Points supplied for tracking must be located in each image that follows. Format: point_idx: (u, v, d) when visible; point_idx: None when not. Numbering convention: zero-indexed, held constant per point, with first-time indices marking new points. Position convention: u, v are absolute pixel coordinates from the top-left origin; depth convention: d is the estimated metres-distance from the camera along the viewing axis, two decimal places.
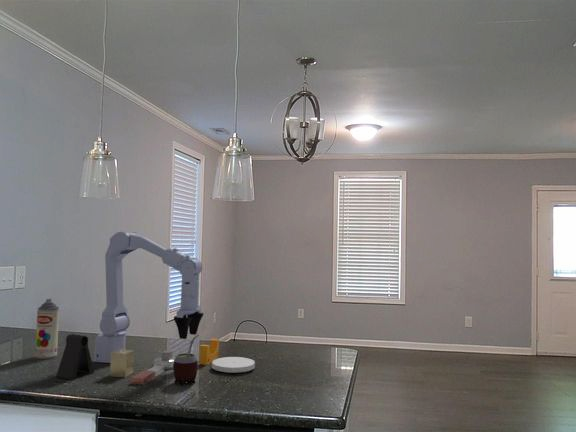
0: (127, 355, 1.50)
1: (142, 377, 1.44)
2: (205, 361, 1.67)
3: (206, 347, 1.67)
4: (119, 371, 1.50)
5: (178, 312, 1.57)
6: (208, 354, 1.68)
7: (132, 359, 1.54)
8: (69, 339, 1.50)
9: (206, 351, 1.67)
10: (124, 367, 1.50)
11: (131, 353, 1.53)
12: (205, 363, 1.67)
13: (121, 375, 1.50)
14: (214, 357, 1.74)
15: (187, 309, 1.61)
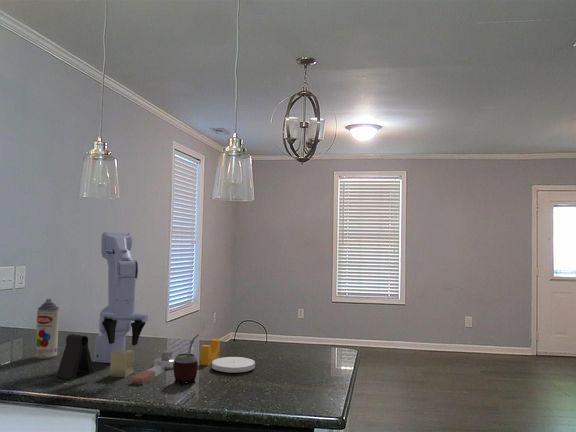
0: (127, 355, 1.50)
1: (142, 377, 1.44)
2: (206, 361, 1.66)
3: (207, 347, 1.67)
4: (119, 371, 1.50)
5: None
6: (209, 354, 1.68)
7: (132, 359, 1.54)
8: (69, 339, 1.50)
9: (207, 351, 1.67)
10: (124, 367, 1.50)
11: (131, 353, 1.53)
12: (206, 363, 1.66)
13: (121, 375, 1.50)
14: (215, 357, 1.74)
15: None
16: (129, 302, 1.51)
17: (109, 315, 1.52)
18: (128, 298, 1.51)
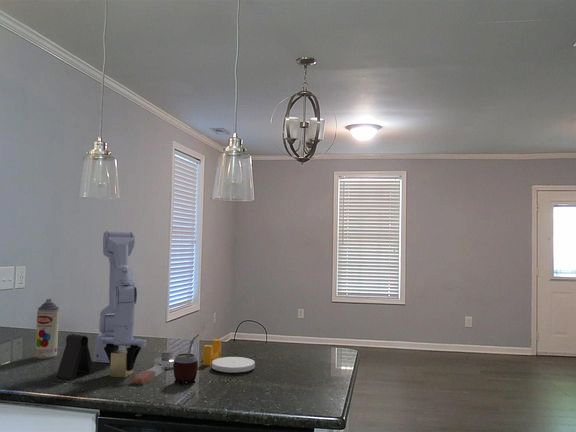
0: (127, 355, 1.50)
1: (142, 377, 1.44)
2: (209, 361, 1.66)
3: (210, 347, 1.66)
4: (119, 371, 1.50)
5: None
6: (211, 354, 1.68)
7: None
8: (69, 339, 1.50)
9: (209, 351, 1.66)
10: (124, 367, 1.50)
11: None
12: (209, 363, 1.66)
13: (121, 375, 1.50)
14: (217, 357, 1.74)
15: None
16: (128, 327, 1.51)
17: (108, 340, 1.52)
18: (127, 323, 1.51)
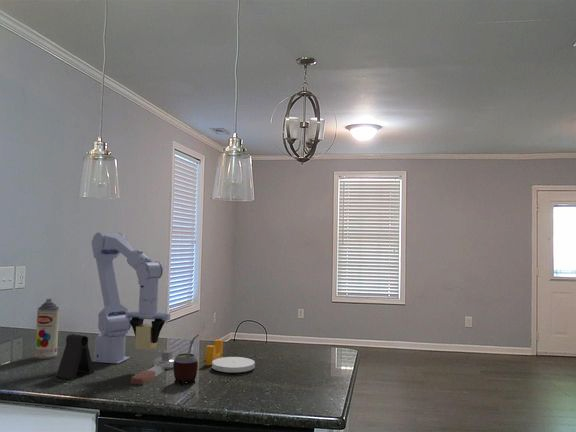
0: (151, 329, 1.56)
1: (142, 377, 1.44)
2: (211, 362, 1.66)
3: (212, 348, 1.66)
4: (144, 344, 1.56)
5: None
6: (214, 355, 1.67)
7: None
8: (69, 339, 1.50)
9: (212, 351, 1.66)
10: (149, 339, 1.55)
11: None
12: (211, 364, 1.66)
13: (146, 347, 1.56)
14: (219, 357, 1.74)
15: None
16: (152, 301, 1.57)
17: (133, 314, 1.58)
18: (155, 297, 1.58)
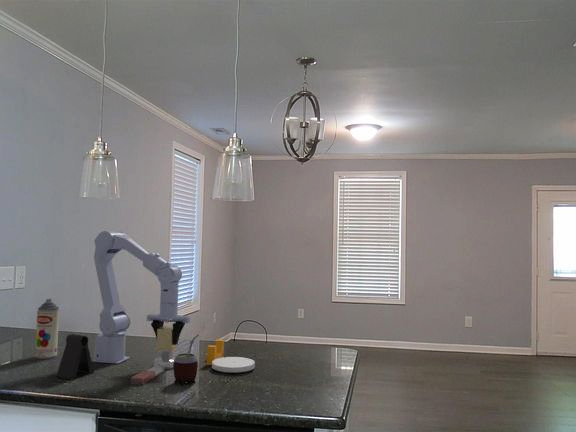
0: (172, 331, 1.62)
1: (142, 377, 1.44)
2: None
3: (213, 348, 1.66)
4: (165, 346, 1.61)
5: None
6: (215, 355, 1.67)
7: None
8: (69, 339, 1.50)
9: (213, 351, 1.66)
10: (170, 341, 1.61)
11: None
12: None
13: (167, 349, 1.61)
14: None
15: (159, 315, 1.64)
16: (173, 305, 1.62)
17: (154, 317, 1.63)
18: (177, 300, 1.64)
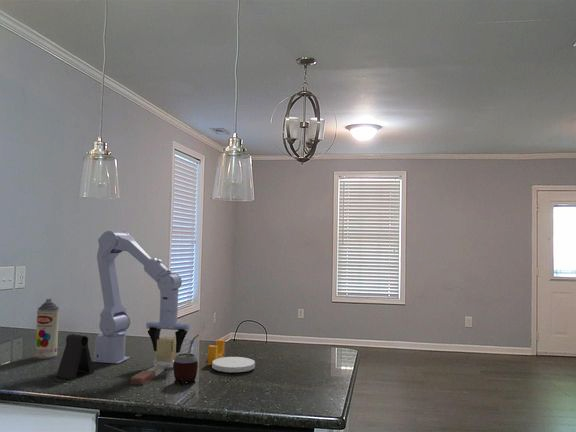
0: (172, 342, 1.62)
1: (142, 377, 1.44)
2: None
3: (215, 348, 1.66)
4: (165, 356, 1.61)
5: None
6: (216, 355, 1.67)
7: None
8: (69, 339, 1.50)
9: (214, 351, 1.66)
10: (170, 352, 1.61)
11: (175, 340, 1.64)
12: None
13: (167, 360, 1.61)
14: (221, 357, 1.73)
15: (159, 323, 1.64)
16: (173, 312, 1.62)
17: (154, 324, 1.63)
18: (177, 308, 1.64)
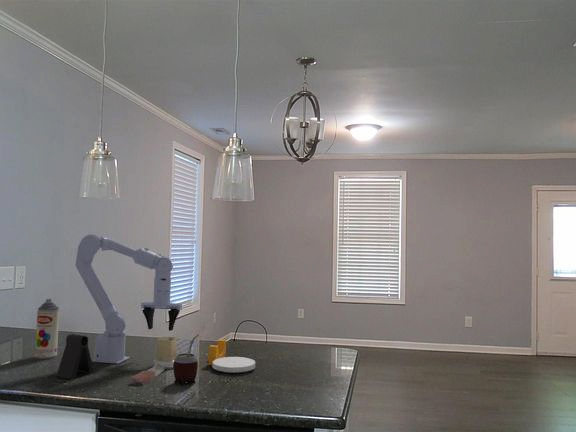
0: (172, 342, 1.62)
1: (142, 377, 1.44)
2: None
3: (215, 348, 1.66)
4: (165, 356, 1.61)
5: None
6: (217, 355, 1.67)
7: (176, 346, 1.65)
8: (69, 339, 1.50)
9: (215, 351, 1.66)
10: (170, 352, 1.61)
11: (175, 340, 1.64)
12: None
13: (167, 360, 1.61)
14: None
15: (153, 302, 1.75)
16: (166, 293, 1.73)
17: (148, 304, 1.74)
18: None
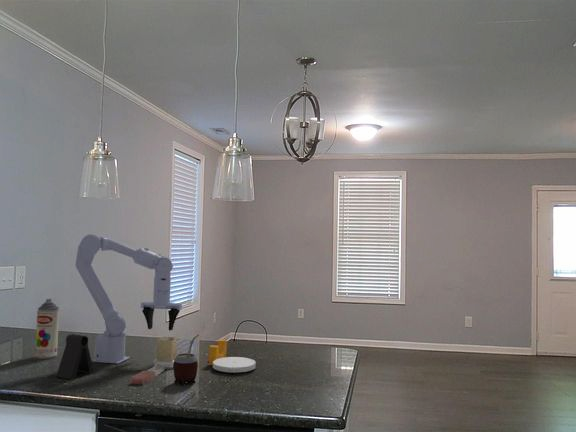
0: (172, 342, 1.61)
1: (142, 377, 1.44)
2: None
3: (215, 348, 1.66)
4: (165, 356, 1.61)
5: None
6: (217, 355, 1.67)
7: (176, 346, 1.65)
8: (69, 339, 1.50)
9: (215, 351, 1.66)
10: (170, 352, 1.61)
11: (175, 340, 1.64)
12: None
13: (167, 360, 1.61)
14: None
15: (153, 302, 1.75)
16: (166, 293, 1.74)
17: (148, 304, 1.74)
18: None
